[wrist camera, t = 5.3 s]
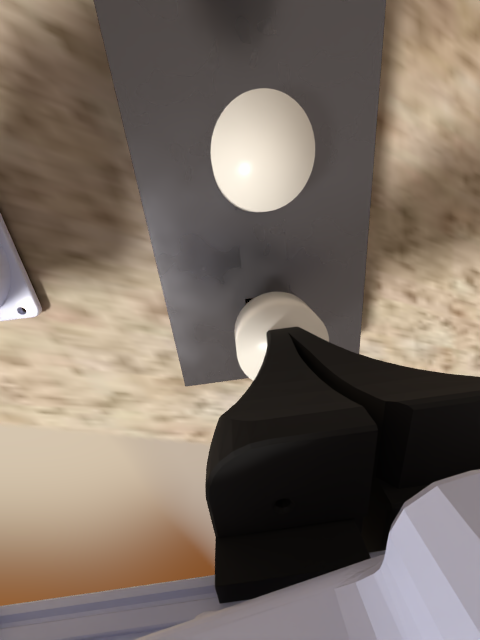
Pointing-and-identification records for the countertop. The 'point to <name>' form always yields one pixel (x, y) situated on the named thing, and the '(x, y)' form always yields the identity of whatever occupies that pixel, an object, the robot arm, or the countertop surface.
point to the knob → (270, 326)
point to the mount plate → (196, 168)
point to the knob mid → (262, 150)
